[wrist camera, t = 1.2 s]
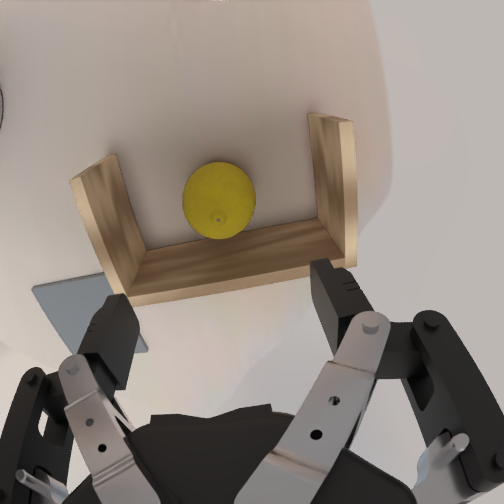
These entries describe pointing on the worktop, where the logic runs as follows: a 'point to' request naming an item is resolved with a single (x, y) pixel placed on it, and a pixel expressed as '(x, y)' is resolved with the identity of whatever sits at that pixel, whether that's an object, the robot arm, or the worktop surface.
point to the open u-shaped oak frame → (229, 249)
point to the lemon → (219, 200)
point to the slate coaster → (76, 307)
